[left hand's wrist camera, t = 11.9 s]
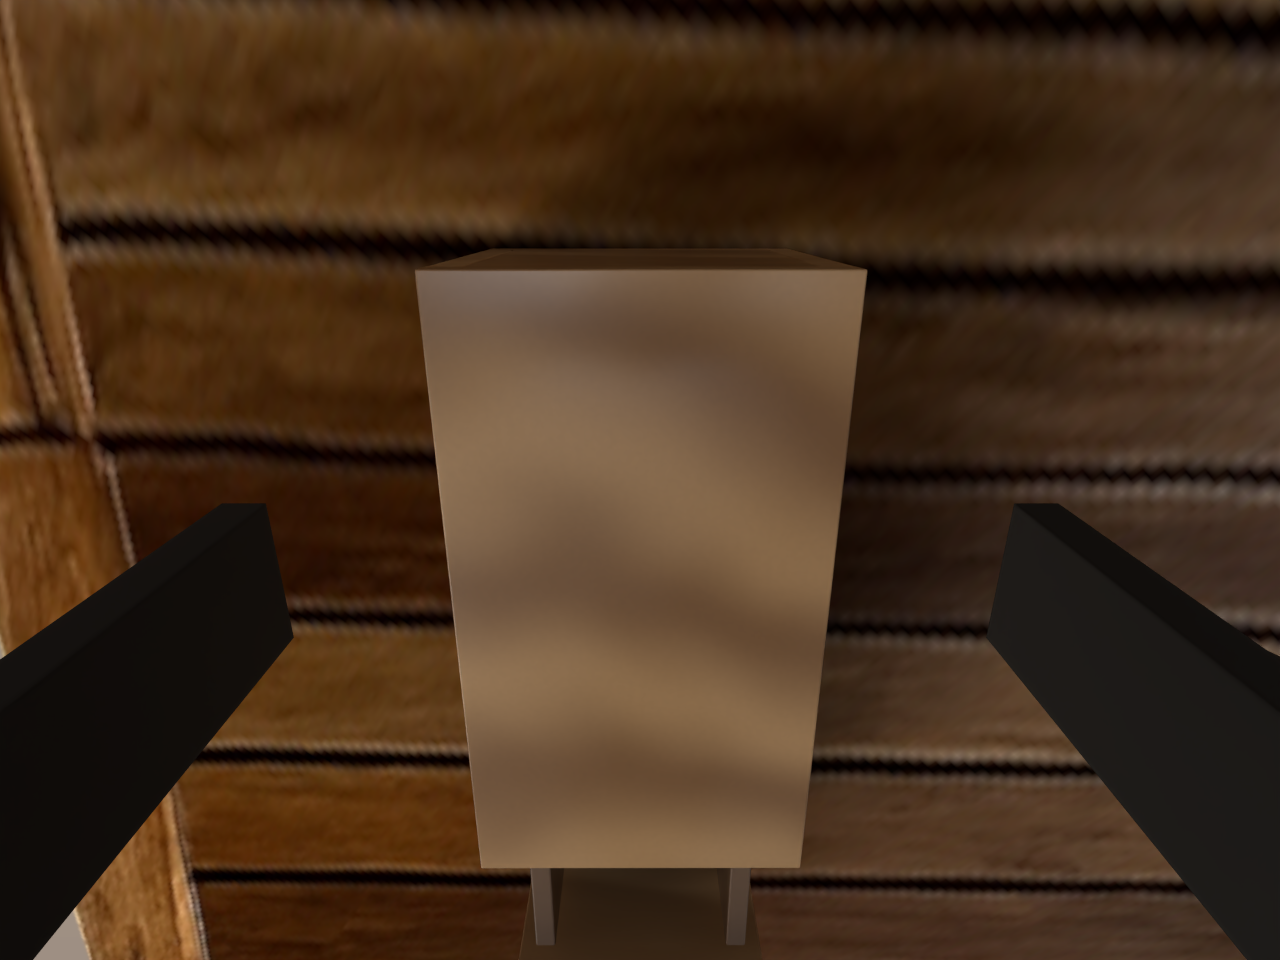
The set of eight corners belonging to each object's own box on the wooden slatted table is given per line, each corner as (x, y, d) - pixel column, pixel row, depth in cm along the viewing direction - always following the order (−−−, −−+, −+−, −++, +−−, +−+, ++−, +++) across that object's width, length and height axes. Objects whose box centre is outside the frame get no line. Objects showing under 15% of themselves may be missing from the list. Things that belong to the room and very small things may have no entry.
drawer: (733, 918, 39) (755, 1087, 31) (547, 918, 39) (525, 1087, 31) (761, 493, 30) (803, 589, 22) (519, 493, 30) (478, 589, 22)
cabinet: (756, 690, 34) (800, 868, 25) (523, 690, 34) (480, 868, 25) (789, 248, 27) (868, 269, 18) (491, 248, 27) (414, 269, 18)
